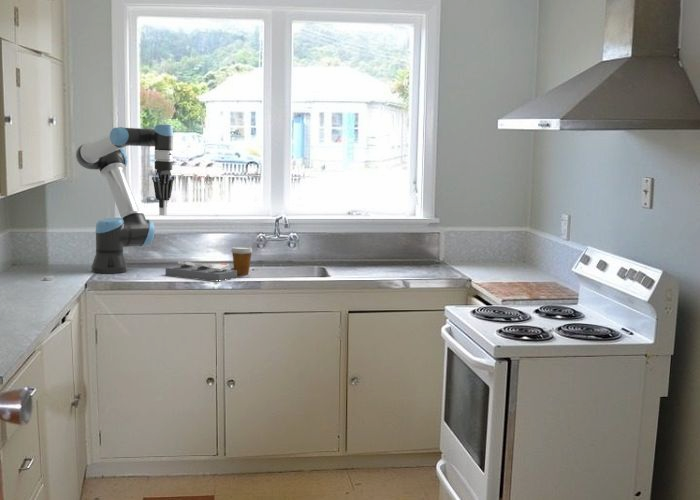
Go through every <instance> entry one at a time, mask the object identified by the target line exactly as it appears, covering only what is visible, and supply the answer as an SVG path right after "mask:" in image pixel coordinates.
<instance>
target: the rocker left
mask: <svg viewBox="0 0 700 500" xmlns="http://www.w3.org/2000/svg"><path fill="white" fill-rule="evenodd" d="M177 264H179V265H191V266H196V265H195V262H191V261H182V260H178V261H177Z"/></svg>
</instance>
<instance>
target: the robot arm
mask: <svg viewBox="0 0 700 500" xmlns="http://www.w3.org/2000/svg"><path fill="white" fill-rule="evenodd" d="M173 129H174V127H173V126H172V124H155V126H154V128H136V127H134V128H133V127H122V126H119V127H113V128H111V130H110V132H109V134H108V135H105V136H103V137H102V138H99V139H96V140H94V141H93V142H86V143H83V144H81V145H80V146H78V147H77V150H76V152H75V158H76V161H77V162H78V164H79V165H80V166H82V168H85V169H87V170H88V169H89V170H98V171H100V174H101V176H102V177H103V178H106V181H107V185H108V187H109V189H110V192H111V194H112V197H113V199H114V202H115V203H114V204H115V205H116V209H117V211H118V214H119V215H120V217H109V218H102V219H100V220H97V222H96V226H95V255H94V259H93V262H92V265H91V272H93V273H97V274H98V273H99V274H121V273H125V272H127V271H128V265H127V262H126V259H125V255H124V248H125V247H143V246H148V245H151V243H152V242H153V240H154V236H155V230H156V229H155V224H154V222H153V221H152V220H150V219H146V217H145V214H144V212H141V211H139V207H138V205H137V202H136V200H135V197H134V195H133V192H132V190H131V186H130V184H129V182H128V179H127V177H126V174H125V171H126V167H127V165H128V160H127V159H128V156H127V155H128V154H127V152H126V151H125V149H124V148H126V147H129V146H133V147H135V146H136V147H154V160H155V161H154V170H156V173H155V176H152V177H151V179H152V182H153V188H154V195H155V196H154V197H155V199H156V200H157V201H158V207H159V209H158V212H159V213H158V214H159V216H163V217H164V216H167V210H168V209H167V208H168V201H170V199H171V196H172V190H173V184H174V181H175V176H173V175H172V172H171V171H172V170H173V161H172V160H173V150H174V148H173V147H174V146H173V145H174V133H173V132H174V131H173ZM122 148H123V149H124V150H123V149H122Z"/></svg>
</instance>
